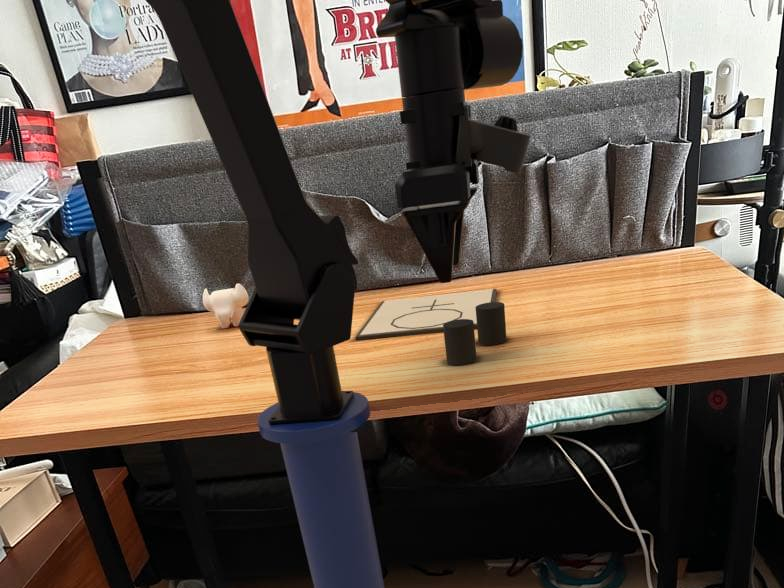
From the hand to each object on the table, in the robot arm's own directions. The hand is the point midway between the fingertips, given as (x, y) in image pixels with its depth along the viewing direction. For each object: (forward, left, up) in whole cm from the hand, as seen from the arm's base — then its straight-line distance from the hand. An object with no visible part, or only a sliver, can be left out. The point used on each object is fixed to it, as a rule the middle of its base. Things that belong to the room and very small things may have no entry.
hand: (450, 273), depth 73 cm
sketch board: (+23, +6, -9) cm, 25 cm away
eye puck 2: (+6, -3, -9) cm, 12 cm away
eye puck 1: (0, 0, -9) cm, 9 cm away
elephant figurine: (+28, +37, -9) cm, 47 cm away
